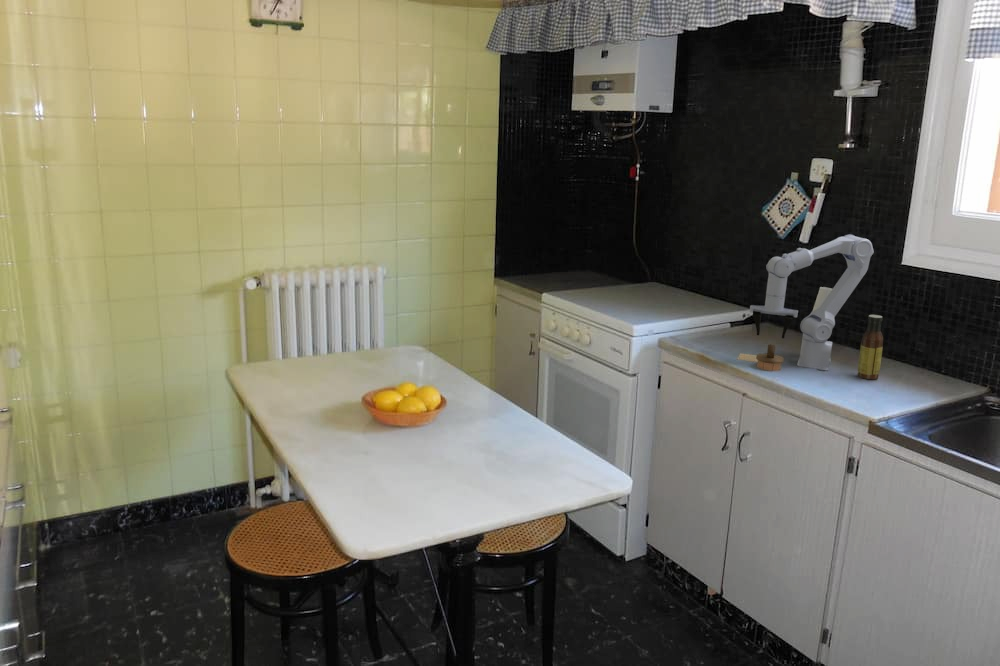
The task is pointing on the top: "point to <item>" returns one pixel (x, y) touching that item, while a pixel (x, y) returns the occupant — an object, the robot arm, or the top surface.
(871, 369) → the sauce bottle
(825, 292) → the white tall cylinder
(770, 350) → the lid
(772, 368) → the bowl
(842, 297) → the robot arm
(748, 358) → the mat
